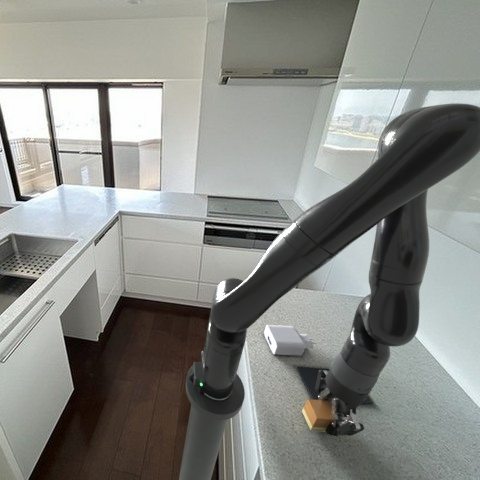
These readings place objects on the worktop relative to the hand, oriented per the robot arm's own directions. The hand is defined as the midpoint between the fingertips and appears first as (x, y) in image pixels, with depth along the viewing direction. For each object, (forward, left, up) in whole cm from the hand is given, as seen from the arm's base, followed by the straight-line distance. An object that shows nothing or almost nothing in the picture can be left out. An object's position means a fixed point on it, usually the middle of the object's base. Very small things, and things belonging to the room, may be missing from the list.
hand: (324, 421), depth 63 cm
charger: (+2, +25, -1) cm, 25 cm away
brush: (0, 0, 0) cm, 0 cm away
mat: (+8, +11, -1) cm, 14 cm away
